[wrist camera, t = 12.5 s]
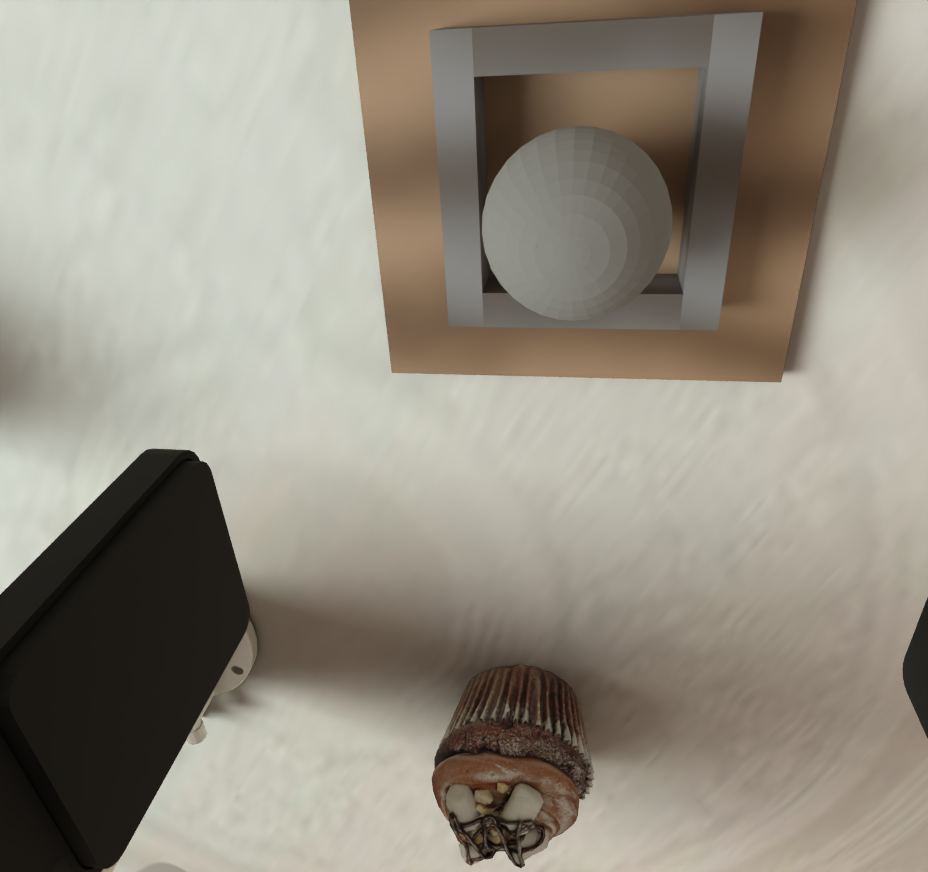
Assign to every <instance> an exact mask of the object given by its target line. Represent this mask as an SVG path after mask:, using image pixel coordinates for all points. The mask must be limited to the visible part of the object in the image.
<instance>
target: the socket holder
mask: <svg viewBox="0 0 928 872" xmlns="http://www.w3.org/2000/svg"><path fill="white" fill-rule="evenodd" d="M349 4H350V12H351V21H352V30H353V38H354V47H355V56H356V65H357V73H358V82H359V91H360V99H361V108H362V117H363V126H364V134H365V143H366V152H367V160H368V169H369V178H370V186H371V195H372V204H373V213H374V221H375V230H376V239H377V247H378V256H379V265H380V274H381V282H382V291H383V300H384V308H385V317H386V326H387V334H388V343H389V352H390V361H391V369H392V373H422V374H463V375H504V376H545V377H585V378H626V379H667V380H708V381H749V382H781V380H782V375H783V370H784V365H785V360H786V355H787V350H788V345H789V340H790V335H791V330H792V325H793V320H794V315H795V310H796V305H797V300H798V295H799V290H800V285H801V280H802V275H803V270H804V265H805V260H806V255H807V250H808V245H809V240H810V235H811V230H812V225H813V220H814V215H815V210H816V205H817V200H818V195H819V190H820V185H821V180H822V175H823V170H824V165H825V159H826V154H827V149H828V144H829V139H830V134H831V129H832V124H833V119H834V114H835V109H836V104H837V99H838V94H839V89H840V84H841V79H842V74H843V69H844V64H845V59H846V54H847V49H848V44H849V39H850V34H851V29H852V24H853V19H854V14H855V9H856V4H857V0H349ZM572 126H591V127H598V128H602V129H606V130H609V131H613V132H615V133H617V134H619V135H621V136H623V137H625V138H627V139H629V140H631V141H632V142H634V143H635V144H636V145H637V146H638V147H640V148H641V149H642V150H643V151H644V152H646V153H647V155H648V156H649V157H650V158H651V160H652V161H653V162H654V164H655V165H656V166H657V167H658V169H659V171H660V173H661V175H662V177H663V179H664V182H665V184H666V186H667V189H668V193H669V197H670V201H671V206H672V226H673V227H672V233H671V238H670V244H669V247H668V250H667V253H666V255H665V258H664V260H663V263H662V265H661V267H660V268H659V270H658V271H657V273H656V275H655V276H654V278H653V279H652V281H651V282H650V283H649V284H648V285H647V287H646V288H645V289H644V290H643V291H642V292H641V293H640V294H639V295H638V296H637V297H635V298H634V299H633V300H631V301H630V302H629V303H627V304H626V305H625V306H623V307H621V308H619V309H617V310H615V311H613V312H611V313H609V314H606V315H603V316H600V317H596V318H593V319H586V320H576V321H571V320H559V319H554V318H550V317H547V316H543V315H540V314H538V313H536V312H534V311H532V310H530V309H528V308H526V307H525V306H523V305H522V304H521V303H519V302H518V301H517V300H515V299H514V298H513V297H512V296H511V295H510V294H509V293H508V292H507V291H506V290H505V289H504V288H503V286H502V285H501V284H500V283H499V281H498V279H497V278H496V276H495V274H494V273H493V271H492V270H491V267H490V264H489V261H488V259H487V256H486V253H485V249H484V243H483V237H482V214H483V210H484V206H485V201H486V197H487V194H488V192H489V190H490V188H491V185H492V183H493V181H494V179H495V177H496V176H497V174H498V173H499V171H500V170H501V168H502V167H503V166H504V164H505V163H506V161H507V160H508V159H509V158H510V157H511V156H512V155H513V154H514V153H515V152H516V151H517V150H518V149H519V148H521V147H522V146H523V145H525V144H526V143H528V142H530V141H531V140H533V139H534V138H536V137H537V136H540V135H542V134H545V133H548V132H550V131H553V130H555V129H560V128H566V127H572Z"/></svg>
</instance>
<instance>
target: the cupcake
mask: <svg viewBox="0 0 928 872" xmlns="http://www.w3.org/2000/svg"><path fill="white" fill-rule="evenodd" d="M593 773H594V771H593V766H592V762H591V757H590V753H589V748H588V743H587V738H586V733H585V728H584V723H583V717H582V711H581V706H580V702H579V699H578V697H577V695H576V694H575V693H573V692H572V688H571V687H570V686H569V685H568V683H566V682H565V681H564V680H562V679H560V678H558V677H557V676H555V675H554V674H553V673H551V672H548V671H543V670H541V669H539V668H537V667H527V666H524V665H522V664H520V665H516V666H513V667H500V668H492V669H489V670H487V671H485V672H483V673H480V674H478V675H477V676H475V677H473V679H472V680H471V681H470V682H469V684H468V686H467V687H466V689H465V691H464V693H463V695H462V697H461V700H460V702H459V704H458V706H457V708H456V711H455V713H454V715H453V717H452V720H451V722H450V724H449V726H448V728H447V730H446V733H445V735H444V737H443V739H442V741H441V743H440V746H439V749H438V750H437V753H436V756H435V770H434V772H433V776H432V785H433V792H434V795H435V798H436V800H437V803H438V806H439V808H440V809H441V811H442V812H443V814H444V816H445V817H446V819H447V820H448V821H449V822H450V826H451V828H452V830H453V831H454V833H455V835H456V837H457V840H458V841H459V842H460V844H459V847H460V851H461V855H462V857H463V859H464V860H465V862H466V863H467V864H469V865H470V866H471V865H473V864H475V863H477V862H479V861H481V860H483V859H491V858H493V856H494V854H495V853H496V852H498V851H505V852H506V854H507V855H508V857H509V859H510V860H511V861H512V862H513V864H514V865H515V866H518V867H520V868H522V867H523V866H525V864H524V860H526V859H527V858H529V857H530V856H532V855H534V854H536V853H538V852H541V851H543V850H544V849H545V848H547V846H548V842H549V841H550V840H551V839H552V838H553V837H555V836H557V835H560V834H562V833H563V832H564V831H566V830H567V829H568V828H569V827H571V826H572V825H573V824H574V822H575V821H576V819H577V816H578V808H579V799H582V800H583V799H585V794H590V792H589V788H590V787H593V784H592V780H594V777H593Z"/></svg>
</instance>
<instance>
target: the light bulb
mask: <svg viewBox="0 0 928 872" xmlns="http://www.w3.org/2000/svg"><path fill="white" fill-rule="evenodd" d="M672 227H673V226H672V206H671V201H670V197H669V193H668V189H667V186H666V184H665V182H664V179H663V177H662V175H661V173H660V171H659V169H658V167H657V166H656V165H655V164H654V162H653V161H652V160H651V158H650V157H649V156H648V155H647V153H646V152H644V151H643V150H642V149H641V148H640V147H638V146H637V145H636V144H635V143H634V142H632V141H631V140H629V139H627V138H625V137H623V136H621V135H619V134H617V133H615V132H613V131H609V130H606V129H602V128H598V127H591V126H572V127H566V128H560V129H555V130H553V131H550V132H548V133H545V134H542V135H540V136H537V137H536V138H534V139H533V140H531V141H530V142H528V143H526V144H525V145H523V146H522V147H521V148H519V149H518V150H517V151H516V152H515V153H514V154H513V155H512V156H511V157H510V158H509V159H508V160H507V161H506V163H505V164H504V166H503V167H502V168H501V170H500V171H499V173H498V174H497V176H496V177H495V179H494V181H493V183H492V185H491V188H490V190H489V192H488V194H487V197H486V201H485V206H484V210H483V214H482V237H483V243H484V249H485V253H486V256H487V259H488V261H489V264H490V267H491V270H492V271H493V273H494V274H495V276H496V278H497V279H498V281H499V283H500V284H501V285H502V286H503V288H504V289H505V290H506V291H507V292H508V293H509V294H510V295H511V296H512V297H513V298H514V299H515V300H517V301H518V302H519V303H521V304H522V305H523V306H525V307H526V308H528V309H530V310H532V311H534V312H536V313H538V314H540V315H543V316H547V317H550V318H554V319H559V320H571V321H576V320H586V319H593V318H596V317H600V316H603V315H606V314H609V313H611V312H613V311H615V310H617V309H619V308H621V307H623V306H625V305H626V304H627V303H629V302H630V301H631V300H633V299H634V298H635V297H637V296H638V295H639V294H640V293H641V292H642V291H643V290H644V289H645V288H646V287H647V285H648V284H649V283H650V282H651V281H652V279H653V278H654V276H655V275H656V273H657V271H658V270H659V268H660V267H661V265H662V263H663V260H664V258H665V255H666V253H667V250H668V247H669V244H670V238H671V233H672Z"/></svg>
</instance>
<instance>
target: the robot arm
mask: <svg viewBox="0 0 928 872" xmlns="http://www.w3.org/2000/svg"><path fill="white" fill-rule="evenodd" d="M249 617H250V609H249V604H248V600H247V597H246V593H245V589H244V586H243V582H242V579H241V575H240V572H239V568H238V564H237V561H236V557H235V554H234V550H233V547H232V543H231V540H230V536H229V532H228V529H227V525H226V522H225V518H224V515H223V511H222V507H221V504H220V500H219V497H218V493H217V490H216V486H215V483H214V479H213V475H212V472H211V469H210V467H209V466H208V464H207V463H205V462H203V461H200V460H199V458H198V456H197V455H196V454H195V453H194V452H192V451H190V450H172V449H148V450H146V451H145V452H143V453H142V454H141V455H140V456H139V457H138V458H137V459H136V460H135V461H134V462H133V463H132V464H131V465H130V466H129V467H128V468H127V469H126V470H125V471H124V472H123V473H122V474H121V475H120V476H119V477H118V478H117V479H116V480H115V481H114V482H113V483H112V484H111V485H110V486H109V487H108V488H107V489H106V490H105V491H104V492H103V493H102V494H101V495H100V496H99V497H98V498H97V499H96V500H95V501H94V502H93V503H92V504H91V505H90V506H89V507H88V508H87V509H86V510H85V511H84V512H83V513H82V514H81V515H80V516H79V517H78V518H77V519H76V520H75V521H74V522H73V523H72V524H71V525H70V526H69V527H68V528H67V529H66V530H65V531H64V532H63V533H62V534H61V535H60V536H59V537H58V538H57V539H56V540H55V541H54V542H53V543H52V544H51V545H50V546H49V547H48V548H47V549H46V550H45V551H44V552H43V553H42V554H41V555H40V556H39V557H38V558H37V559H36V560H35V561H34V562H33V563H32V564H31V565H30V566H29V567H28V568H27V569H26V570H25V571H24V572H23V573H22V574H21V575H20V576H19V577H18V578H17V579H16V580H15V581H14V582H13V583H12V584H11V585H10V586H9V587H8V588H6V589H5V590H4V591H3V592H2V593H1V594H0V872H112V871H113V870H114V868H115V866H116V864H117V862H118V861H119V859H120V857H121V856H122V854H123V853H124V851H125V849H126V847H127V846H128V844H129V842H130V840H131V838H132V837H133V835H134V833H135V831H136V829H137V827H138V826H139V824H140V822H141V820H142V818H143V817H144V815H145V813H146V811H147V809H148V808H149V806H150V804H151V802H152V800H153V799H154V797H155V795H156V793H157V791H158V790H159V788H160V786H161V784H162V782H163V781H164V779H165V777H166V775H167V773H168V772H169V770H170V768H171V766H172V764H173V763H174V761H175V759H176V757H177V755H178V753H179V752H180V750H181V748H182V746H183V744H184V743H185V741H186V739H187V741H188V743H190V744H192V745H193V744H198V743H200V742H202V741H203V740H204V739H205V737H206V734H207V732H206V729H205V726H204V724H203V721H202V719H201V717H202V716H203V714H204V712H205V710H206V708H207V707H208V705H209V703H210V701H211V699H212V698H213V696H217V695H221V694H223V693H226V692H229V691H231V690H233V689H234V688H236V687H237V686H239V685H240V684H241V683H242V682H243V681H244V680H245V678H246V677H247V676H248V674H249V672H250V670H251V668H252V666H253V665H254V663H255V659H256V655H257V638H256V634H255V631H254V627H253V625H252V623H251V621H250V619H249ZM903 680H904V685H905V688H906V691H907V693H908V696H909V698H910V700H911V702H912V705H913V707H914V709H915V711H916V713H917V716H918V718H919V720H920V722H921V725H922V727H923V729H924V731H925V733H926V736H927V738H928V598H927V601H926V603H925V606H924V608H923V611H922V614H921V616H920V619H919V621H918V624H917V627H916V629H915V632H914V634H913V637H912V640H911V642H910V645H909V647H908V650H907V653H906V655H905V658H904V662H903Z"/></svg>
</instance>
